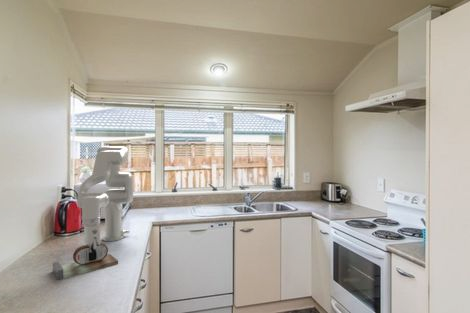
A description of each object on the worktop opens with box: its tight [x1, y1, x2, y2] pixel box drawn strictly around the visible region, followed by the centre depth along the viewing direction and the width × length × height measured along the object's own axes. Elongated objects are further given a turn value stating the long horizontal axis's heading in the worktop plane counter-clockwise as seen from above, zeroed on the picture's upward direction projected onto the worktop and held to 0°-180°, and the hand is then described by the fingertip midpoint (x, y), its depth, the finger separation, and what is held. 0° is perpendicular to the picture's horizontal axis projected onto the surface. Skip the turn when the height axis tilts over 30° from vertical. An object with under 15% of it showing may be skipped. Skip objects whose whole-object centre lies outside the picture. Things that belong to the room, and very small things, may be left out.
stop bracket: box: [52, 261, 63, 281], centre depth 118 cm, size 2×12×4 cm, turn 43°
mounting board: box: [61, 253, 119, 280], centre depth 127 cm, size 23×12×2 cm, turn 133°
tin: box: [72, 242, 109, 265], centre depth 128 cm, size 15×3×8 cm, turn 133°
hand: (91, 258), depth 128 cm, fingers closed on tin, 2 cm apart
